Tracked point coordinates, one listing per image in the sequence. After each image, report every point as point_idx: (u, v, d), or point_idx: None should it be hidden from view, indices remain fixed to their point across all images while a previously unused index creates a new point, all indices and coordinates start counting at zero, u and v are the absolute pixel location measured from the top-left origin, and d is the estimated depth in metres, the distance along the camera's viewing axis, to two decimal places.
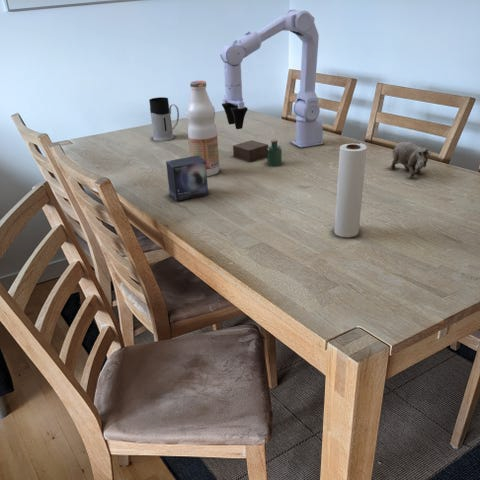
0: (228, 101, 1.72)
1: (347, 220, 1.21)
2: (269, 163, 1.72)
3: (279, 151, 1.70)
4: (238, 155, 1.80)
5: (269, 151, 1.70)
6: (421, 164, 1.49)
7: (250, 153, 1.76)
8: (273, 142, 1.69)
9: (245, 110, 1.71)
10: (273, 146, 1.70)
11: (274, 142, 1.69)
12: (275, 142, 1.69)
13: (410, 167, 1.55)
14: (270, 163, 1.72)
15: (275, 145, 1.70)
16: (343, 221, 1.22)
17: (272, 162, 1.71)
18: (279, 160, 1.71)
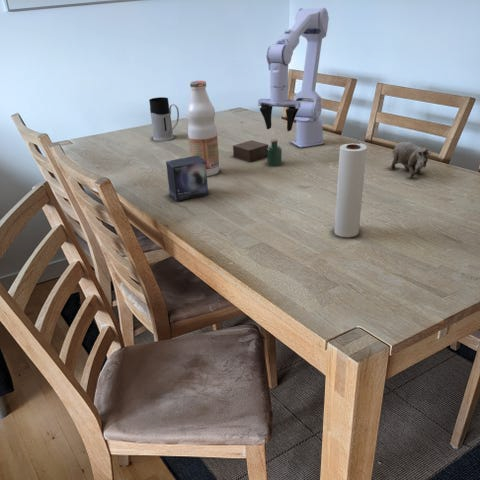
0: (280, 103, 1.63)
1: (347, 220, 1.21)
2: (269, 163, 1.72)
3: (279, 151, 1.70)
4: (238, 155, 1.80)
5: (269, 151, 1.70)
6: (421, 164, 1.49)
7: (250, 153, 1.76)
8: (273, 142, 1.69)
9: (297, 110, 1.66)
10: (273, 146, 1.70)
11: (274, 142, 1.69)
12: (275, 142, 1.69)
13: (410, 167, 1.55)
14: (270, 163, 1.72)
15: (275, 145, 1.70)
16: (343, 221, 1.22)
17: (272, 162, 1.71)
18: (279, 160, 1.71)
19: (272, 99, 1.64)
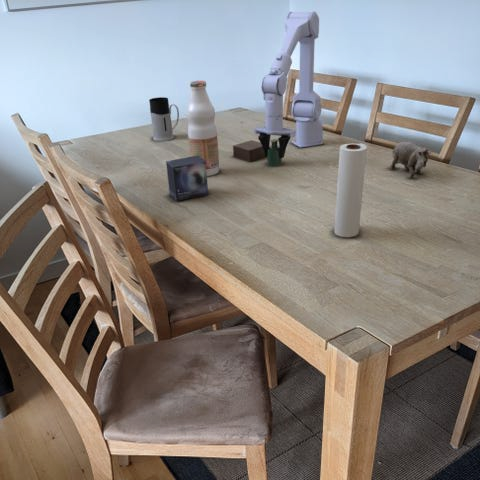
0: (275, 132, 1.65)
1: (347, 220, 1.21)
2: (269, 163, 1.72)
3: (279, 151, 1.70)
4: (238, 155, 1.80)
5: (269, 151, 1.70)
6: (421, 164, 1.49)
7: (250, 153, 1.76)
8: (273, 142, 1.69)
9: (289, 138, 1.68)
10: (273, 146, 1.70)
11: (274, 142, 1.69)
12: (275, 142, 1.69)
13: (410, 167, 1.55)
14: (270, 163, 1.72)
15: (275, 145, 1.70)
16: (343, 221, 1.22)
17: (272, 162, 1.71)
18: (279, 160, 1.71)
19: (267, 128, 1.66)
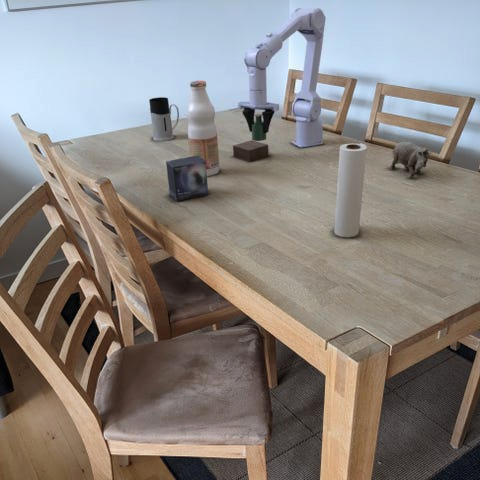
0: (259, 106, 1.66)
1: (347, 220, 1.21)
2: (254, 138, 1.73)
3: (263, 126, 1.71)
4: (238, 155, 1.80)
5: (253, 126, 1.71)
6: (421, 164, 1.49)
7: (250, 153, 1.76)
8: (257, 117, 1.70)
9: (273, 112, 1.70)
10: (257, 121, 1.71)
11: (258, 117, 1.70)
12: (259, 117, 1.70)
13: (410, 167, 1.55)
14: (255, 138, 1.73)
15: (259, 120, 1.71)
16: (343, 221, 1.22)
17: (256, 137, 1.72)
18: (263, 135, 1.73)
19: (251, 102, 1.67)
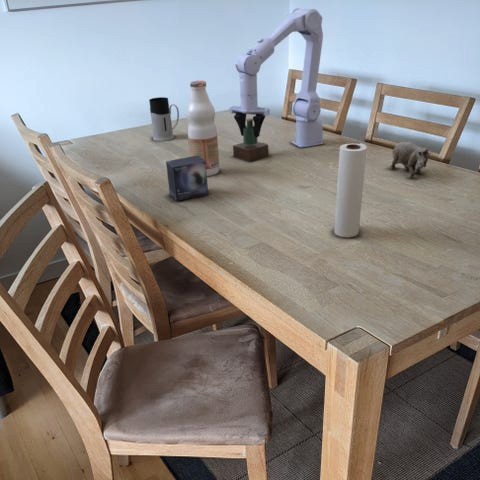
0: (250, 111, 1.71)
1: (347, 220, 1.21)
2: (245, 142, 1.78)
3: (254, 130, 1.75)
4: (238, 155, 1.80)
5: (245, 130, 1.75)
6: (421, 164, 1.49)
7: (250, 153, 1.76)
8: (248, 121, 1.74)
9: (264, 117, 1.74)
10: (248, 125, 1.75)
11: (249, 121, 1.74)
12: (250, 121, 1.74)
13: (410, 167, 1.55)
14: (246, 142, 1.77)
15: (250, 124, 1.75)
16: (343, 221, 1.22)
17: (248, 140, 1.77)
18: (255, 139, 1.77)
19: (242, 107, 1.71)
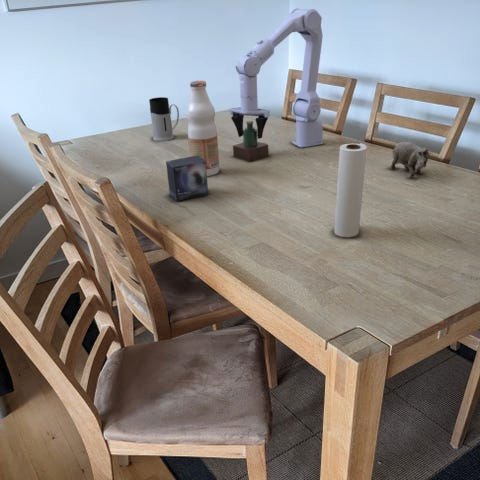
0: (250, 112, 1.71)
1: (347, 220, 1.21)
2: (245, 144, 1.78)
3: (254, 132, 1.76)
4: (238, 155, 1.80)
5: (245, 132, 1.76)
6: (421, 164, 1.49)
7: (250, 153, 1.76)
8: (248, 124, 1.75)
9: (267, 118, 1.74)
10: (248, 127, 1.76)
11: (249, 123, 1.75)
12: (250, 123, 1.75)
13: (410, 167, 1.55)
14: (246, 144, 1.78)
15: (250, 126, 1.75)
16: (343, 221, 1.22)
17: (248, 143, 1.77)
18: (255, 141, 1.77)
19: (242, 108, 1.71)
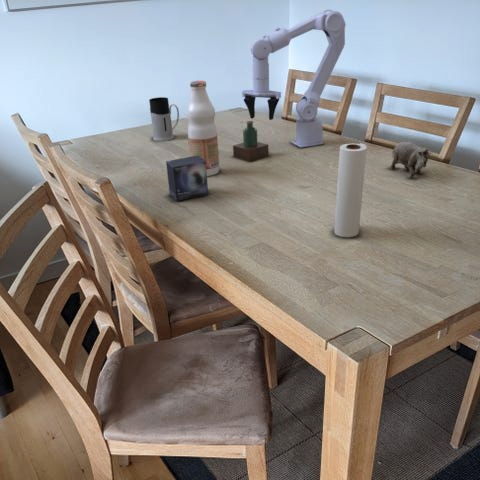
0: (262, 94, 1.77)
1: (347, 220, 1.21)
2: (245, 144, 1.78)
3: (254, 132, 1.76)
4: (238, 155, 1.80)
5: (245, 132, 1.76)
6: (421, 164, 1.49)
7: (250, 153, 1.76)
8: (248, 124, 1.75)
9: (278, 100, 1.80)
10: (248, 127, 1.76)
11: (249, 123, 1.75)
12: (250, 124, 1.75)
13: (410, 167, 1.55)
14: (246, 144, 1.78)
15: (250, 126, 1.75)
16: (343, 221, 1.22)
17: (248, 143, 1.77)
18: (255, 141, 1.77)
19: (255, 90, 1.78)
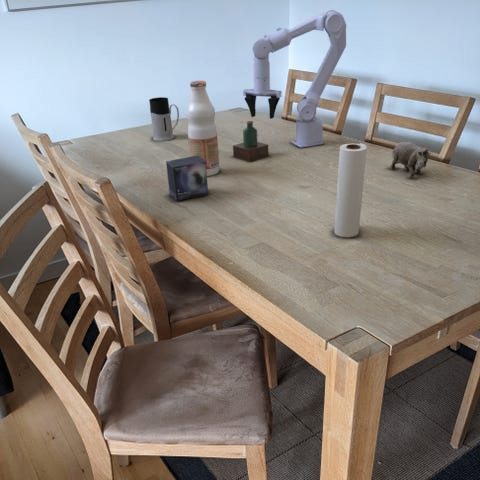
0: (262, 93, 1.79)
1: (347, 220, 1.21)
2: (245, 144, 1.78)
3: (254, 132, 1.76)
4: (238, 155, 1.80)
5: (245, 132, 1.76)
6: (421, 164, 1.49)
7: (250, 153, 1.76)
8: (248, 124, 1.75)
9: None
10: (248, 127, 1.76)
11: (249, 123, 1.75)
12: (250, 124, 1.75)
13: (410, 167, 1.55)
14: (246, 144, 1.78)
15: (250, 126, 1.75)
16: (343, 221, 1.22)
17: (248, 143, 1.77)
18: (255, 141, 1.77)
19: (255, 89, 1.80)
